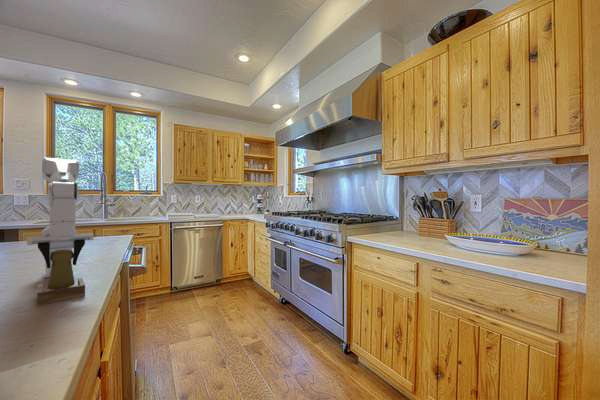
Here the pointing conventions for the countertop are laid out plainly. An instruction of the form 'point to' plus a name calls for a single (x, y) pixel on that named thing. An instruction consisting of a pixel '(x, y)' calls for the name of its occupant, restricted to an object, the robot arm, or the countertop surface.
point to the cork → (61, 269)
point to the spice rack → (60, 293)
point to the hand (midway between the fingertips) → (61, 265)
